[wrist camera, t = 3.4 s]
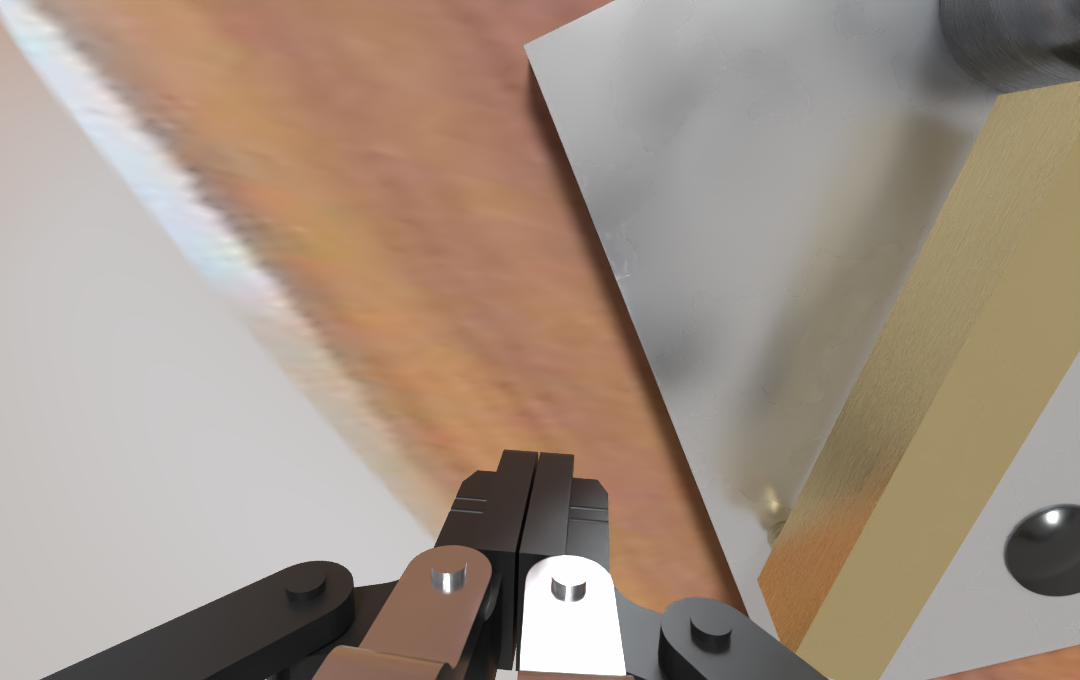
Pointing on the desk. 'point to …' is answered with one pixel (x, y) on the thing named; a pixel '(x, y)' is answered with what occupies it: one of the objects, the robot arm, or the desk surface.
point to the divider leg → (939, 395)
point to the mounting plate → (813, 257)
